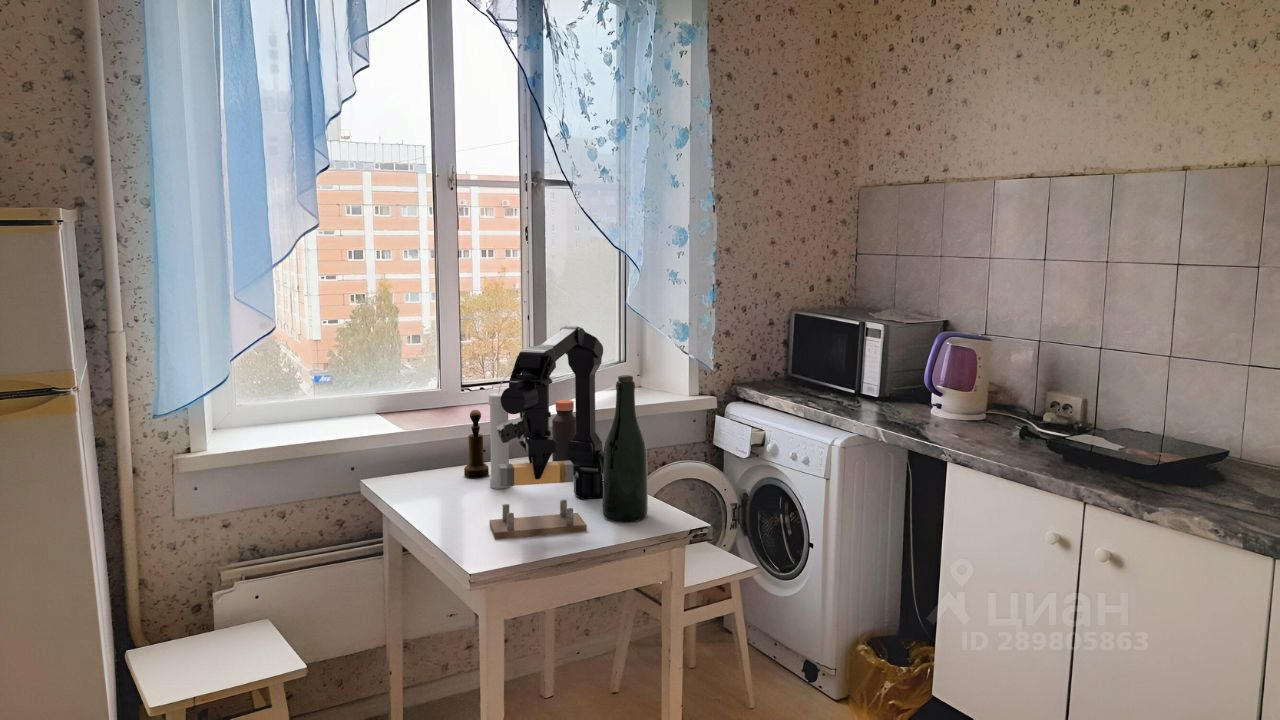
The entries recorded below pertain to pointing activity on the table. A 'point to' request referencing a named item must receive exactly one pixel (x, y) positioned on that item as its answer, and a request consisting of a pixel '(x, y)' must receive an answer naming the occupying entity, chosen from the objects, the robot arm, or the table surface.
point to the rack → (537, 523)
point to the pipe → (497, 438)
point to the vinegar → (563, 429)
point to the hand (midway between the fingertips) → (536, 476)
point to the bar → (525, 473)
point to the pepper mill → (476, 450)
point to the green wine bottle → (625, 460)
